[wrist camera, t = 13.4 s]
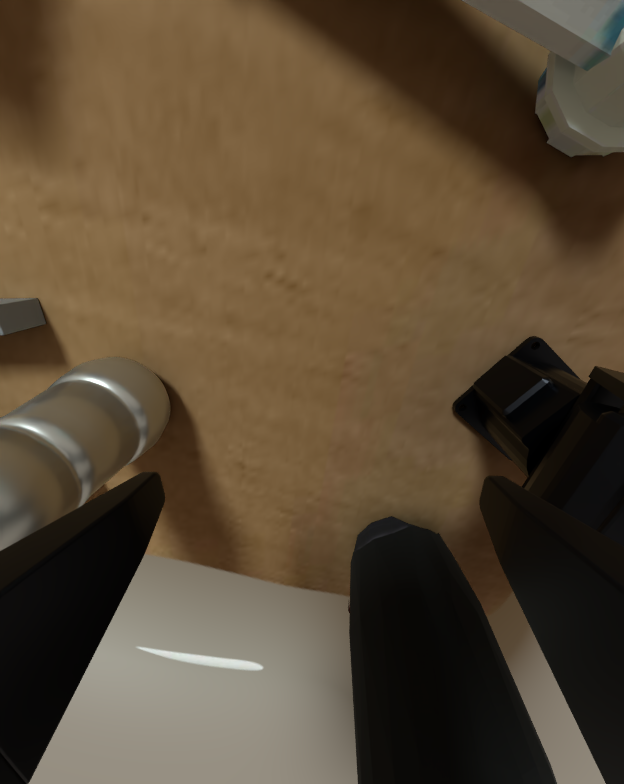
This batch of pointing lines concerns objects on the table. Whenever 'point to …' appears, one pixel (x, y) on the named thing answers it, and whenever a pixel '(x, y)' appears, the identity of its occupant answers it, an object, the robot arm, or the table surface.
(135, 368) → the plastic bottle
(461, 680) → the portable speaker
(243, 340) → the table surface
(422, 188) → the table surface
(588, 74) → the grey piece
